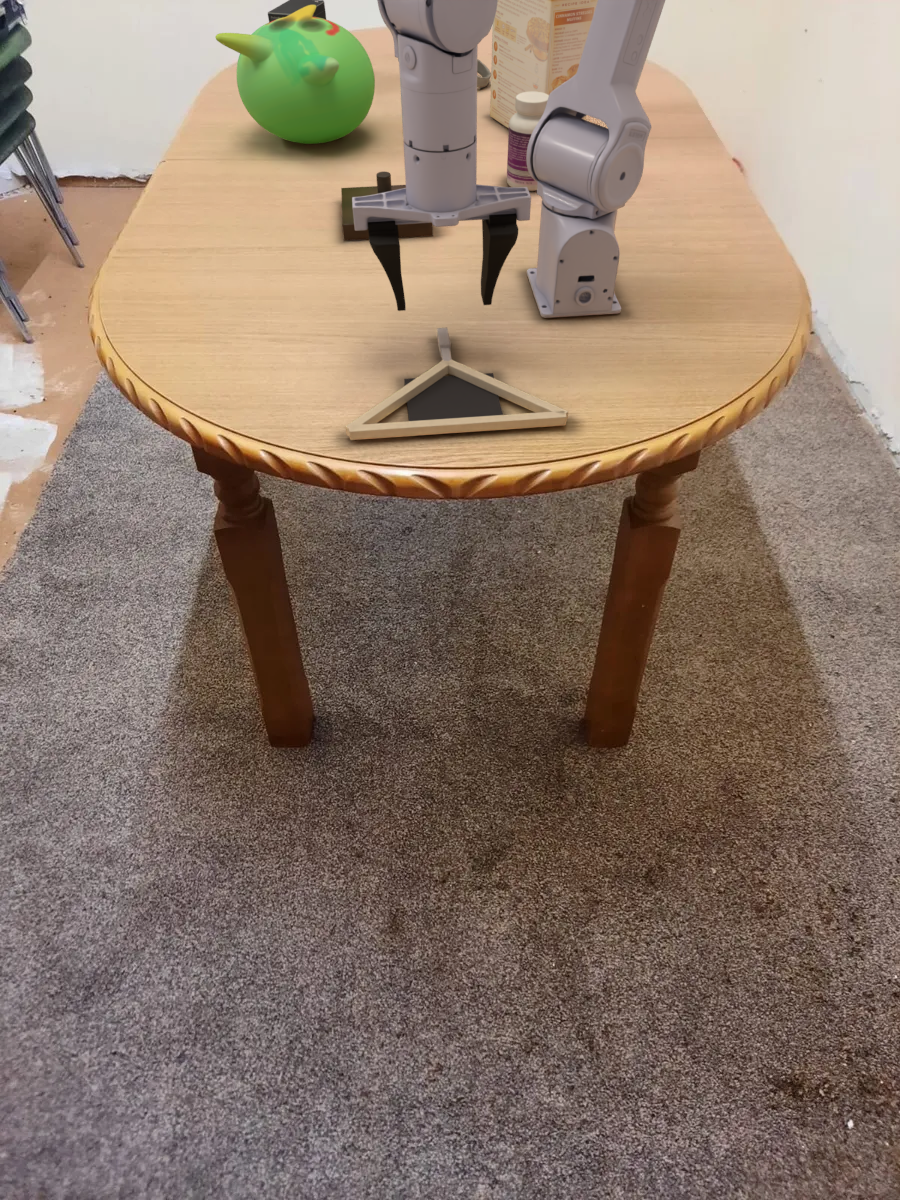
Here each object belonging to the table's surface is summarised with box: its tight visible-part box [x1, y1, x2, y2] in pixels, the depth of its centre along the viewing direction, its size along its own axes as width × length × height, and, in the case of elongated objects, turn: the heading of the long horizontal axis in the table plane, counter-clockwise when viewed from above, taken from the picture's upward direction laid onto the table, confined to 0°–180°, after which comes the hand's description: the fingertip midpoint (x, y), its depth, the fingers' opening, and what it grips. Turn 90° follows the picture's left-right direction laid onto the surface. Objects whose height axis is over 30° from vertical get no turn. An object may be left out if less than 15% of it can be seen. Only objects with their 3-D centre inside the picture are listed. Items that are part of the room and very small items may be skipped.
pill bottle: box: [506, 92, 549, 192], centre depth 99 cm, size 5×5×10 cm
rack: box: [340, 171, 434, 242], centre depth 94 cm, size 10×10×5 cm
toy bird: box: [215, 5, 376, 145], centre depth 107 cm, size 18×17×15 cm
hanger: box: [344, 327, 569, 441], centre depth 73 cm, size 19×15×1 cm
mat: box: [404, 372, 504, 421], centre depth 71 cm, size 8×8×1 cm
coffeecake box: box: [489, 0, 598, 129], centre depth 107 cm, size 15×7×20 cm, turn 25°
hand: (443, 302), depth 74 cm, fingers open, 7 cm apart
